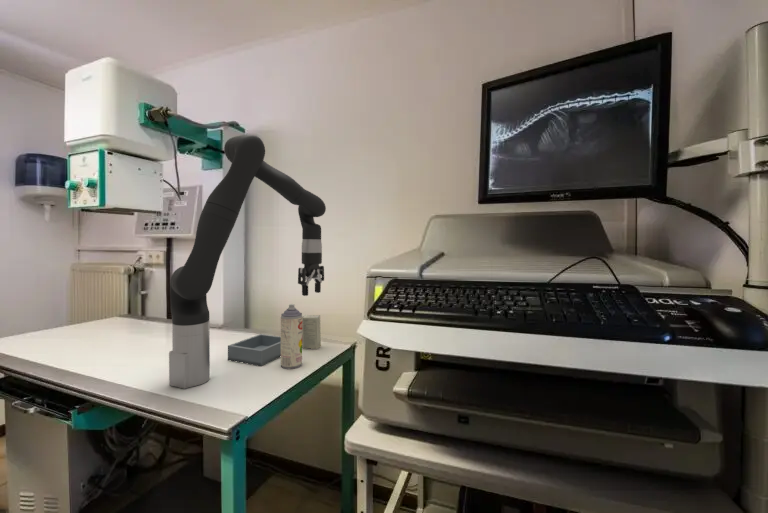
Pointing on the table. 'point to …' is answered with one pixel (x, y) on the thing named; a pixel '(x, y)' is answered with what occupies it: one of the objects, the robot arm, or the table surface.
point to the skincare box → (311, 331)
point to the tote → (256, 350)
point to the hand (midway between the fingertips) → (311, 293)
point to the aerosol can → (291, 338)
